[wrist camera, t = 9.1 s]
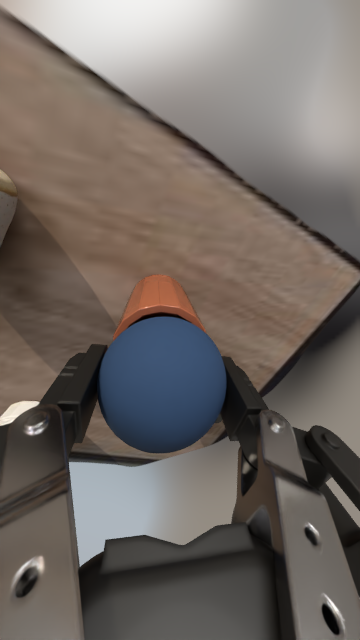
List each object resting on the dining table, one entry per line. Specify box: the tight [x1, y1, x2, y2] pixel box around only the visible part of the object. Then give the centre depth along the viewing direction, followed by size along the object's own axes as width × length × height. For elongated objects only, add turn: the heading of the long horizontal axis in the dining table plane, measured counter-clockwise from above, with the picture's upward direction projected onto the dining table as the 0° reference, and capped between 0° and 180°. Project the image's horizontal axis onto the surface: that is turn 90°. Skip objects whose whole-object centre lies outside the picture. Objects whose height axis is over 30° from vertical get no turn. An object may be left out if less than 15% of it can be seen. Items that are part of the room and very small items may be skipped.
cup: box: [113, 275, 206, 341], centre depth 15 cm, size 6×6×9 cm
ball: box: [97, 317, 226, 453], centre depth 9 cm, size 6×6×6 cm
